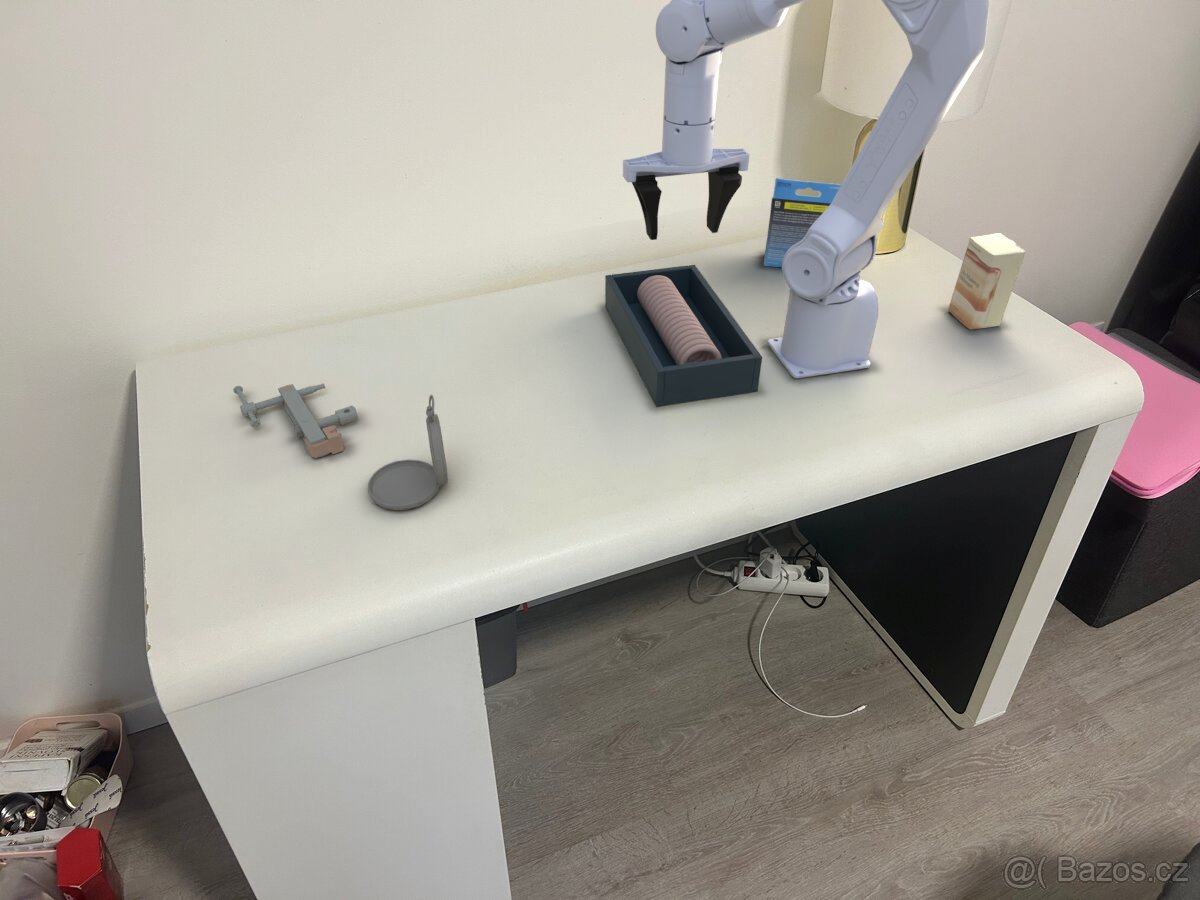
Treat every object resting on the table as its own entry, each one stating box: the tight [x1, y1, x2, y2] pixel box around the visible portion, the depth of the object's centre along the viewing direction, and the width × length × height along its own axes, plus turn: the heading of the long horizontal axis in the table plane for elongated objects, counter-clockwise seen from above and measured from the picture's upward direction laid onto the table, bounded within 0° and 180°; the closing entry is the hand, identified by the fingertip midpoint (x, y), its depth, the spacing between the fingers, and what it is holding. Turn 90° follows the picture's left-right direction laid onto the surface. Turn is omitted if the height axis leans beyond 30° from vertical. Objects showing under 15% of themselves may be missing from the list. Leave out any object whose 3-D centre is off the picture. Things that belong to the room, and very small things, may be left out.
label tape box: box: [763, 177, 842, 268], centre depth 112 cm, size 9×4×12 cm, turn 77°
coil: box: [637, 275, 722, 365], centre depth 98 cm, size 5×5×18 cm
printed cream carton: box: [947, 232, 1027, 331], centre depth 101 cm, size 5×4×10 cm
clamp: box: [232, 383, 359, 459], centre depth 88 cm, size 15×2×10 cm
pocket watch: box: [367, 394, 449, 511], centre depth 77 cm, size 8×8×10 cm
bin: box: [604, 264, 763, 408], centre depth 98 cm, size 12×22×4 cm, turn 14°
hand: (682, 232), depth 102 cm, fingers open, 7 cm apart
